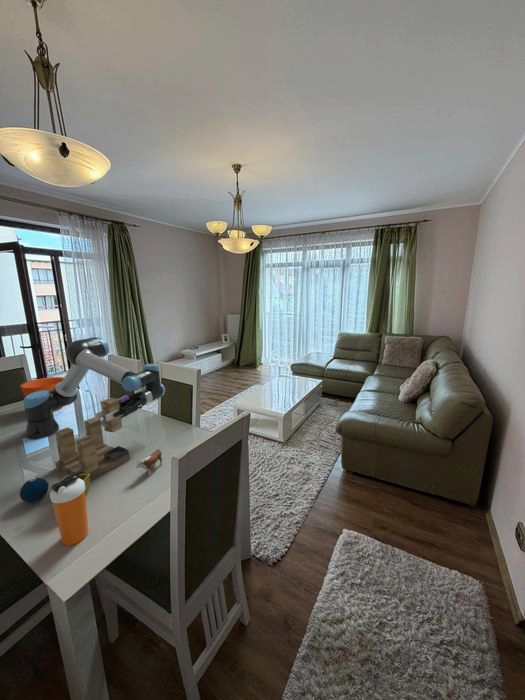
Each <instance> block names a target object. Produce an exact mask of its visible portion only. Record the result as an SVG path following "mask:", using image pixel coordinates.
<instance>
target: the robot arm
mask: <svg viewBox="0 0 525 700" xmlns="http://www.w3.org/2000/svg"><path fill="white" fill-rule="evenodd" d="M109 352H110V347H109V343H108V342H107V340H106V339H104V338H103V337H101V336H97V337H96V336H95V337H94V336H93V337H89V338H83V339H78V340H74V341H72V342H70V343H69V344H68V345H67V346H66V349H65V356H66V359H67V360H68V361H69V362H70V363H71V366H70V368H69V370H68V371H67V373H66V374H65V376H64V379H63V380H62V382H59V383H58V384H56V386H55V387H54V389H53V390H51V391H47V390H42V391H38V392H34V393H31V394H29V395H27V396H26V397H25V396H24V398H23V408H24V411H25V412H24V413H25V416H26V417H25V418H26V421H27V424H26V428H25V434H24V435H25V438H26V439H28V440H37V439H38V440H39V439H42V438H47V437H50V436H52V435H55V432H56V431H59V430H60V426H59V424H58V421H57V420H56V419H55V417H54V412H53V411H54V410H56V409H59V408H61V407H62V408H64V407H66V406H69V405H71V404H73V403H75V402H76V401H77V399H78V398H79V394H78V393H79V391H78V387H79V385H80V384H81V382H82V381H83V380H84V378H85V376H87V375H86V374H88V372H89V371H93V372H94V373H97V374H99V375H101V376H104V377H105V378H108V379H110V380H112V381H114V382H117V383H119V384H120V385H121V386H122V389H123V390H124V391H126V392H128V393H132V392H135V391H137V392H135V393H132V394H131V395H130V396H129V398H128V399H127V400H125V401H122V400H119V405H120V408H119V409H120V411H119V410H115V411H113V412H111V413H109V414H107V415H105V417H106V421H109V420H111V419H113V418H115V417H117V416H119V415H122V416H127V415H129V414H131V413H133V412H136V411H138V410H139V409H142V408H143V407H144V406H147V405H148V404H149V403H152V402H154V401H156V400H158V399H160V398H162V397H163V396H164V395H165V394H166V387H165V386H164V384H162V383H161V375H160V368H159V364H157V363H147V364H144V365H143V370H142V371H139V372H135V371H132V370H129V369H128V368H125V367H123V366H120V365H118V364H116V363H114V362H112V361H110V360H107V359H105V358H103V357H105V356H108V355H109ZM144 387H145V389H142V390H139V389H141V388H144ZM138 390H139V391H138ZM62 408H61V409H62ZM137 409H138V410H137ZM127 411H128V412H127ZM123 414H124V415H123ZM94 415H95V416H94V417H96V420H98V419H103V414H102V410H101V411H98V412H96V413H95V414H94Z"/></svg>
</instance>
